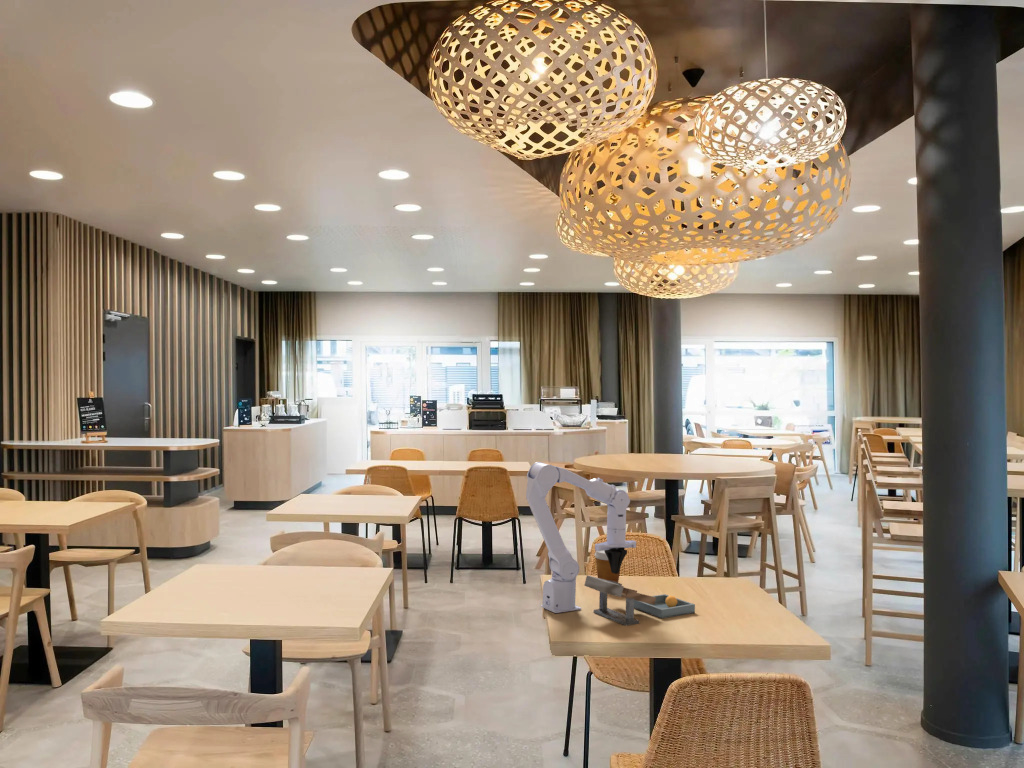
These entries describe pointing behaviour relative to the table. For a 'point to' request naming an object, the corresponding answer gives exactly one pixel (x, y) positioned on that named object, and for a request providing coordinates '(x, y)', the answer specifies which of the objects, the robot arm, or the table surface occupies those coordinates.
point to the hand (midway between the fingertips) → (615, 572)
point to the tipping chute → (617, 589)
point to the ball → (671, 601)
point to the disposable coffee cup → (604, 567)
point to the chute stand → (615, 615)
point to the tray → (665, 607)
